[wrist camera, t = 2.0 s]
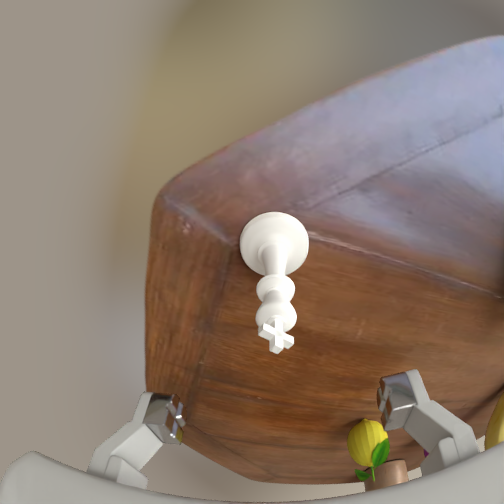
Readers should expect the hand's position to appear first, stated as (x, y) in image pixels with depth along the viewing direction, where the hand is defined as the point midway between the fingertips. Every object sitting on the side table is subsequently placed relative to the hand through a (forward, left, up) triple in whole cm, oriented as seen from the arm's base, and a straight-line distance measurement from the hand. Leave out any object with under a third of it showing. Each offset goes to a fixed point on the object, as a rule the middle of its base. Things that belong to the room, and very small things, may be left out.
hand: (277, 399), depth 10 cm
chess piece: (0, 0, -13) cm, 13 cm away
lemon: (+29, +9, -13) cm, 33 cm away
